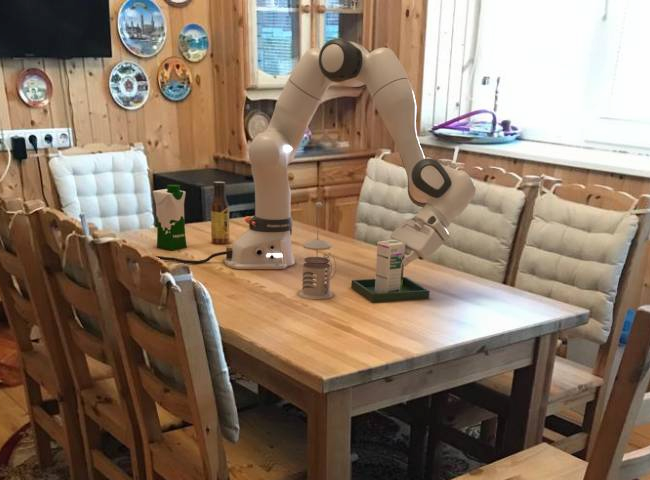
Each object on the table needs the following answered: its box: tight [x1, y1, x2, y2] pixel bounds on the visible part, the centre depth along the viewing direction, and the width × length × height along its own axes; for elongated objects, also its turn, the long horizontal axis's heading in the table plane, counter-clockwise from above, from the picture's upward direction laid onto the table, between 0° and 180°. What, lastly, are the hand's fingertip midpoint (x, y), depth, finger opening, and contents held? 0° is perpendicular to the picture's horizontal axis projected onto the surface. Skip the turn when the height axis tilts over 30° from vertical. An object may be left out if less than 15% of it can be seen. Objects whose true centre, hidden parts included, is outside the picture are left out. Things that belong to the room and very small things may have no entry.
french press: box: [298, 201, 337, 300], centre depth 225 cm, size 10×12×25 cm
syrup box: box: [374, 239, 406, 293], centre depth 231 cm, size 6×6×14 cm
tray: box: [350, 276, 431, 304], centre depth 235 cm, size 18×16×2 cm
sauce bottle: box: [210, 180, 231, 245], centre depth 279 cm, size 7×6×20 cm
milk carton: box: [152, 183, 188, 251], centre depth 270 cm, size 9×9×20 cm
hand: (395, 260), depth 230 cm, fingers open, 8 cm apart
